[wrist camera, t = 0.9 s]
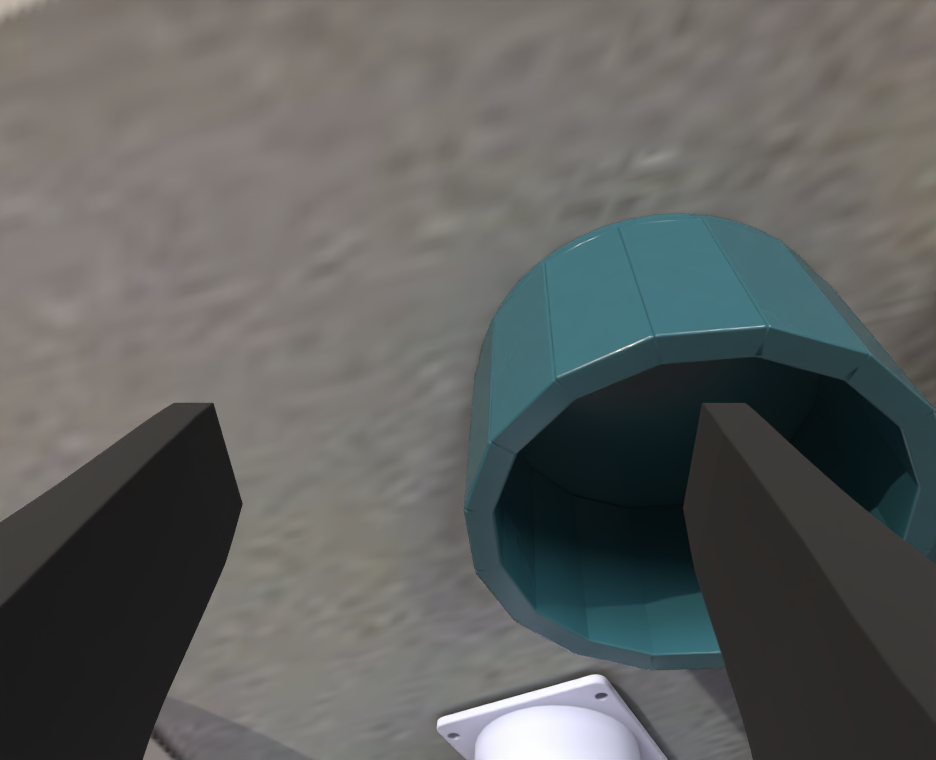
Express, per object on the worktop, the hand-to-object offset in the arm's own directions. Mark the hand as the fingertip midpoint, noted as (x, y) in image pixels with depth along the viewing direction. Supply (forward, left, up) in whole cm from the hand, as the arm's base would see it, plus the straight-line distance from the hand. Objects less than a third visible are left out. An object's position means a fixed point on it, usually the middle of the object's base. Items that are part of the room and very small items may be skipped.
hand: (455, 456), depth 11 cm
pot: (-7, -2, -9) cm, 12 cm away
